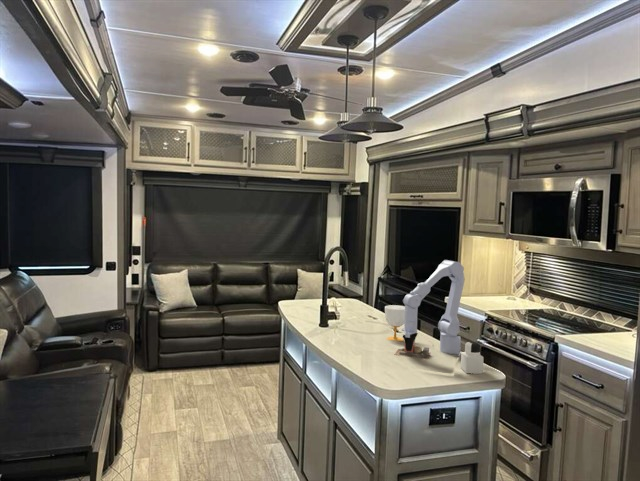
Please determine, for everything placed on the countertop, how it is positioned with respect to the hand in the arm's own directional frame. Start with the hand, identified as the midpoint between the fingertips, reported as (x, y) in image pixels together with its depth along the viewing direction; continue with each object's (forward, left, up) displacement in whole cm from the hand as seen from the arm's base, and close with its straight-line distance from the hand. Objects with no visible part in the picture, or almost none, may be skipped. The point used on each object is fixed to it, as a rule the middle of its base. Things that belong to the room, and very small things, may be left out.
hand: (409, 349), depth 218 cm
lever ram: (0, 0, -2) cm, 2 cm away
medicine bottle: (-28, +10, -3) cm, 30 cm away
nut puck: (-4, 0, -2) cm, 4 cm away
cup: (+12, -26, -3) cm, 29 cm away
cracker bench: (-1, 0, -3) cm, 3 cm away
